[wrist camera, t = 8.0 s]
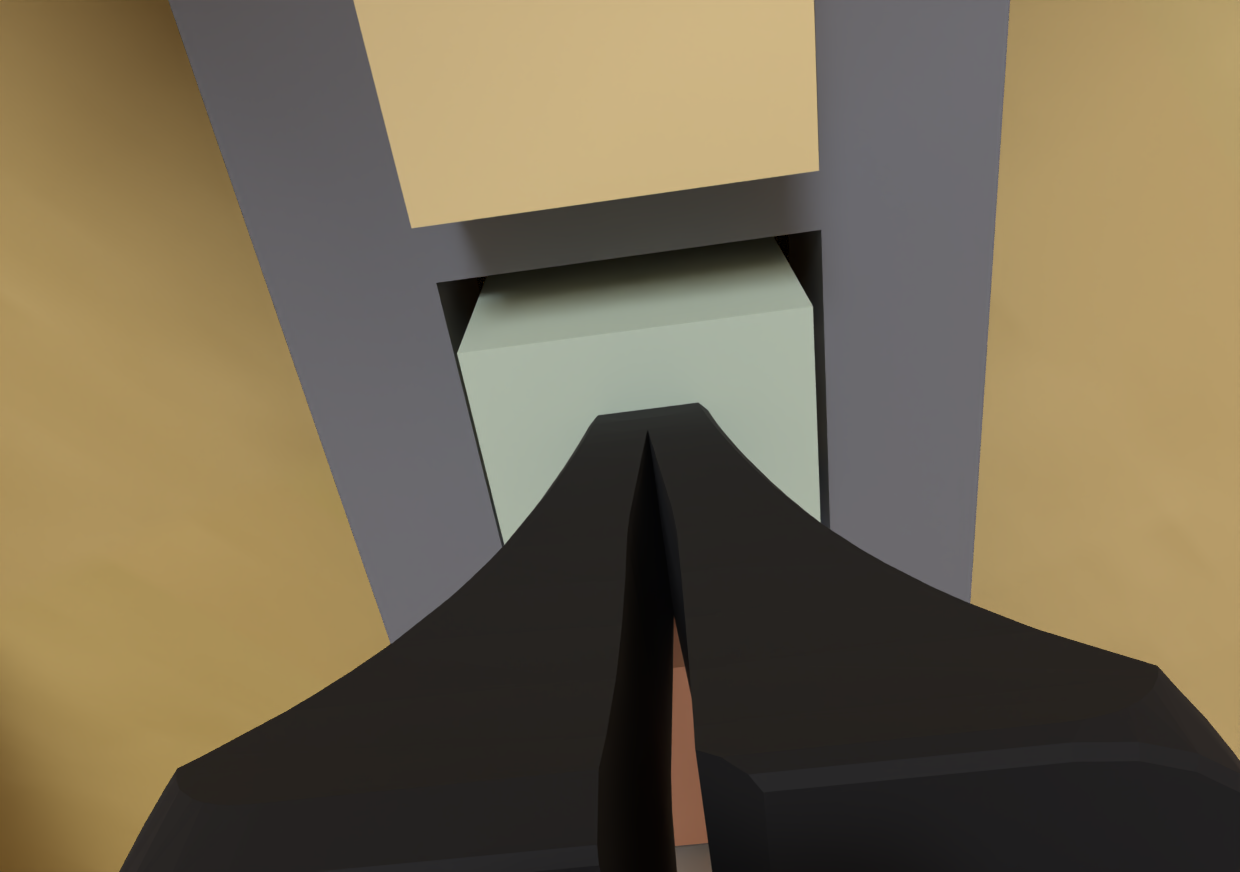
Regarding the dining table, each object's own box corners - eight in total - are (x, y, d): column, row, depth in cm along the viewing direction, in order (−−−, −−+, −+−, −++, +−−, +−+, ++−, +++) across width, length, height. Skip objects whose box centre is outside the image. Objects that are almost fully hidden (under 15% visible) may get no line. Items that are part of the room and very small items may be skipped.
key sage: (540, 503, 15) (524, 625, 12) (489, 269, 13) (456, 353, 10) (784, 473, 14) (822, 591, 12) (770, 230, 12) (812, 306, 10)
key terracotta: (592, 720, 18) (589, 853, 15) (558, 559, 16) (548, 681, 13) (793, 698, 17) (825, 831, 15) (783, 533, 16) (818, 652, 13)
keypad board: (538, 935, 22) (529, 1046, 19) (-116, -1219, 7) (-425, -1718, 5) (908, 900, 21) (943, 1011, 19) (979, -1495, 7) (1153, -2177, 5)
